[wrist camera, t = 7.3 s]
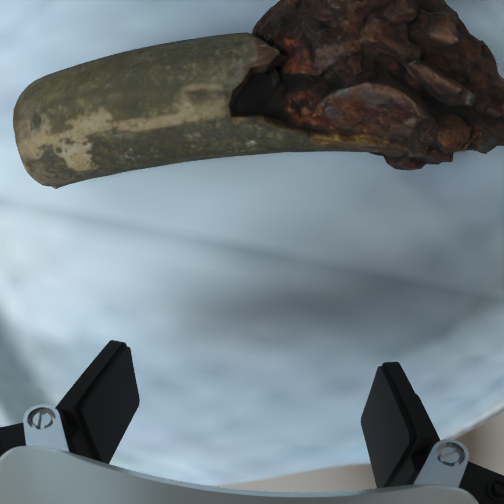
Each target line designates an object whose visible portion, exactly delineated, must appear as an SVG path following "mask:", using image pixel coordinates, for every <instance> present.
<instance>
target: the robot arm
mask: <svg viewBox="0 0 504 504" xmlns="http://www.w3.org/2000/svg"><path fill="white" fill-rule="evenodd" d="M139 401H140V399H139V393H138V388H137V383H136V378H135V373H134V367H133V362H132V356H131V350H130V348H129V347H127V345H126V343H124V342H119V341H114V340H111V341H109V343H108V344H107V345H106V346H105V347H104V349H103V350H102V351H101V352H100V353H99V354H98V356H97V357H96V358H95V359H94V360H93V362H92V363H91V364H90V365H89V367H88V368H87V369H86V370H85V371H84V373H83V374H82V375H81V376H80V378H79V379H78V380H77V381H76V382H75V384H74V385H73V386H72V387H71V389H70V390H69V391H68V392H67V394H66V395H65V396H64V397H63V399H62V400H61V401H60V402H59V404H58V405H57V406H56V408H55V407H53V406H50V405H46V404H42V405H36V406H33V407H32V408H30V409H29V410H28V411H27V412H26V413H25V415H24V419H23V423H19V424H15V425H10V426H5V427H0V504H504V476H503V475H501V474H498V473H495V472H493V471H490V470H488V469H486V468H483V467H481V466H478V465H476V464H473V463H471V462H469V461H468V459H469V454H468V450H467V449H466V447H465V446H464V445H463V444H462V443H460V442H458V441H456V440H452V439H444V440H440V439H439V437H438V435H437V432H436V430H435V428H434V426H433V424H432V422H431V420H430V418H429V416H428V414H427V412H426V410H425V408H424V406H423V404H422V402H421V400H420V398H419V397H418V395H417V394H415V392H414V390H413V388H412V386H411V384H410V382H409V380H408V378H407V377H406V375H405V373H404V371H403V369H402V367H401V365H400V364H399V362H385V363H383V364H382V366H379V367H378V369H377V372H376V375H375V378H374V381H373V384H372V388H371V391H370V394H369V397H368V400H367V402H366V405H365V408H364V411H363V414H362V417H361V426H362V429H363V433H364V437H365V441H366V445H367V449H368V453H369V457H370V461H371V465H372V469H373V473H374V477H375V482H376V486H377V488H376V489H366V490H353V491H338V492H309V493H308V492H307V493H296V492H295V493H294V492H293V493H292V492H265V491H250V490H238V489H229V488H220V487H212V486H205V485H199V484H193V483H187V482H181V481H176V480H171V479H166V478H161V477H156V476H152V475H148V474H144V473H140V472H136V471H132V470H128V469H125V468H121V467H117V466H114V465H110V464H109V463H110V461H111V459H112V457H113V455H114V453H115V451H116V449H117V447H118V445H119V443H120V441H121V439H122V437H123V435H124V433H125V431H126V429H127V427H128V425H129V423H130V422H131V420H132V418H133V416H134V414H135V412H136V410H137V408H138V406H139Z"/></svg>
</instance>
